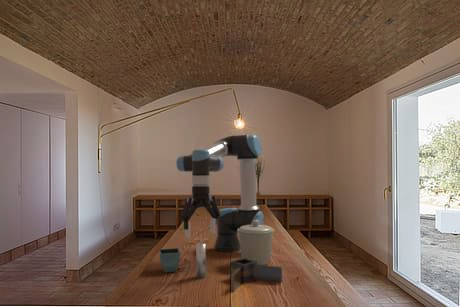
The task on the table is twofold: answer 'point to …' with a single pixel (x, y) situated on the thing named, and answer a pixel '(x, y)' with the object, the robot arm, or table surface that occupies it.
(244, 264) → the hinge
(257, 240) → the canister
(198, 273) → the hinge pin
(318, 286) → the table surface
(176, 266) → the flower pot
